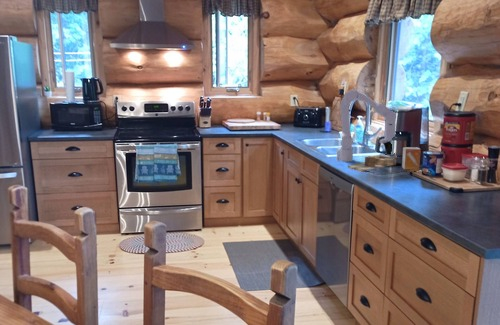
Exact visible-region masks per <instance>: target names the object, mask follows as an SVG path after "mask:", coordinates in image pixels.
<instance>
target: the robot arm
mask: <svg viewBox="0 0 500 325" xmlns="http://www.w3.org/2000/svg"><path fill="white" fill-rule="evenodd" d="M354 101H361V102H364V103H365V104H367V105H369V106H370V107H371V108H373V110H374V112H375V113H377V114H379V115H380V116H381V117H383V118H385V123H384V124H385V126H384V138H382V139H379V144H383V146H384V148H385V154H386V153H387V154H388V155H391V152H393V149H392V144H391V143H390V142H389V141H392V138H393V137H394V136H395V137H396V124H397V123H396V122H395V121H396V119H397V113H396V112H395V111H394V110H393V111H394V112H393V111H390V110H392V109H391V108H389V107H387V106H386V105H385V103H381V102H378V103H377V102H376V101H374V100H373V99H372V98H370V97H368V96H367V95H366V94H364V93H363V92H360V91H358V90H357V89H355V88H352V89H349V90H347V92H345V93H344V96H343V97H342V99H341V101H340V103H339V106H340V119H341V130H342V131H341V132H342V136H341V137H342V138H341V142H340V147H338V149H337V150H336V162H340V161H341V162H347V163H348V162H353V160H354V157H353V156H354V147H353V146H352V145H353V144H354V139H353V137H352V133H351V123H350V112H349V106H350V104H352V103H353V102H354ZM395 113H396V114H395ZM390 124H392V125H390Z"/></svg>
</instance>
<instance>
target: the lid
mask: <svg viewBox="0 0 500 325" xmlns="http://www.w3.org/2000/svg"><path fill="white" fill-rule="evenodd" d="M395 153H396V152H395ZM395 153H394V154H393V156H390V155H385V154H386V153H385V154H378V155H379V156H381V157H385V158H398V157H397V156H398V155H396V154H395Z"/></svg>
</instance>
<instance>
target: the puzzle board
mask: <svg viewBox="0 0 500 325" xmlns="http://www.w3.org/2000/svg"><path fill="white" fill-rule="evenodd" d="M379 155H380V154H377V155H371V157H375V166H371V167H369V166H365V162H363V163H357V164H352V165H351V164H350V165H348V167H347V169H349V168H350V170H353V169H354V170H353V171H356V172H360V171H361V172H362V173H364V172H365V173H370V172H371V171H369V170H372V169H377V168H378V169H379V168H380V169H381V168H384V167H389V166H390V167H391V166H396V165H397V157H395V158H385V157H381V156H379ZM361 172H360V173H361Z"/></svg>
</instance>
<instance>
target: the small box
mask: <svg viewBox="0 0 500 325" xmlns="http://www.w3.org/2000/svg"><path fill="white" fill-rule="evenodd" d="M420 161H421V148H420V147H418V146H416V147H415V146H414V147H413V146H412V147H411V146H410V147H409V146H408V147H407V146H405V147H402V160H401V168H402V169H403V172H404V173H415V172H414V171H419V172H420V165H421V164H420V163H421V162H420Z"/></svg>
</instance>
